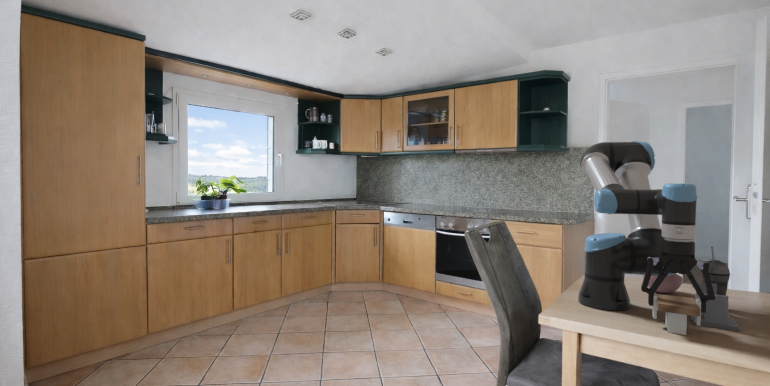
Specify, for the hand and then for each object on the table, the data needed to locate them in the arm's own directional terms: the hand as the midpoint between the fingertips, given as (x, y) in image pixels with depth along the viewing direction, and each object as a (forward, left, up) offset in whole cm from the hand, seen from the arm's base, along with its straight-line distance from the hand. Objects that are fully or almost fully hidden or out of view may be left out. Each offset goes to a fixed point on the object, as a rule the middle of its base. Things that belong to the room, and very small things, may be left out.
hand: (675, 320), depth 110 cm
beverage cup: (+13, +29, -3) cm, 32 cm away
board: (0, 0, +4) cm, 4 cm away
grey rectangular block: (0, 0, -2) cm, 2 cm away
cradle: (+10, +16, -2) cm, 19 cm away
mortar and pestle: (0, +42, -3) cm, 42 cm away
